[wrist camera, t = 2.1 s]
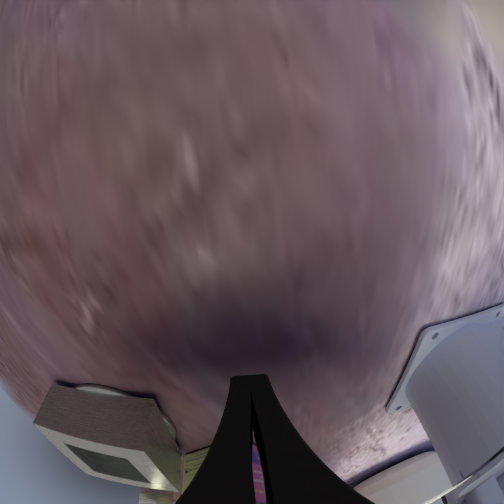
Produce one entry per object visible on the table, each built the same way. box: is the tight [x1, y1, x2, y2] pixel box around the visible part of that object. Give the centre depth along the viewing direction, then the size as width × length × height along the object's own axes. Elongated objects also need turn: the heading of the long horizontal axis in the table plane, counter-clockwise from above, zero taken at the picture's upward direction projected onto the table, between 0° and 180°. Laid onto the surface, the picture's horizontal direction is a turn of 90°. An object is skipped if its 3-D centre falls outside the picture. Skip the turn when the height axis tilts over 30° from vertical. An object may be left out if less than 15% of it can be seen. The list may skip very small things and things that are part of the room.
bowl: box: [353, 451, 472, 504], centre depth 21 cm, size 20×20×8 cm
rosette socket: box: [33, 384, 182, 492], centre depth 13 cm, size 8×8×4 cm
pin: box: [139, 487, 173, 504], centre depth 15 cm, size 3×3×7 cm
